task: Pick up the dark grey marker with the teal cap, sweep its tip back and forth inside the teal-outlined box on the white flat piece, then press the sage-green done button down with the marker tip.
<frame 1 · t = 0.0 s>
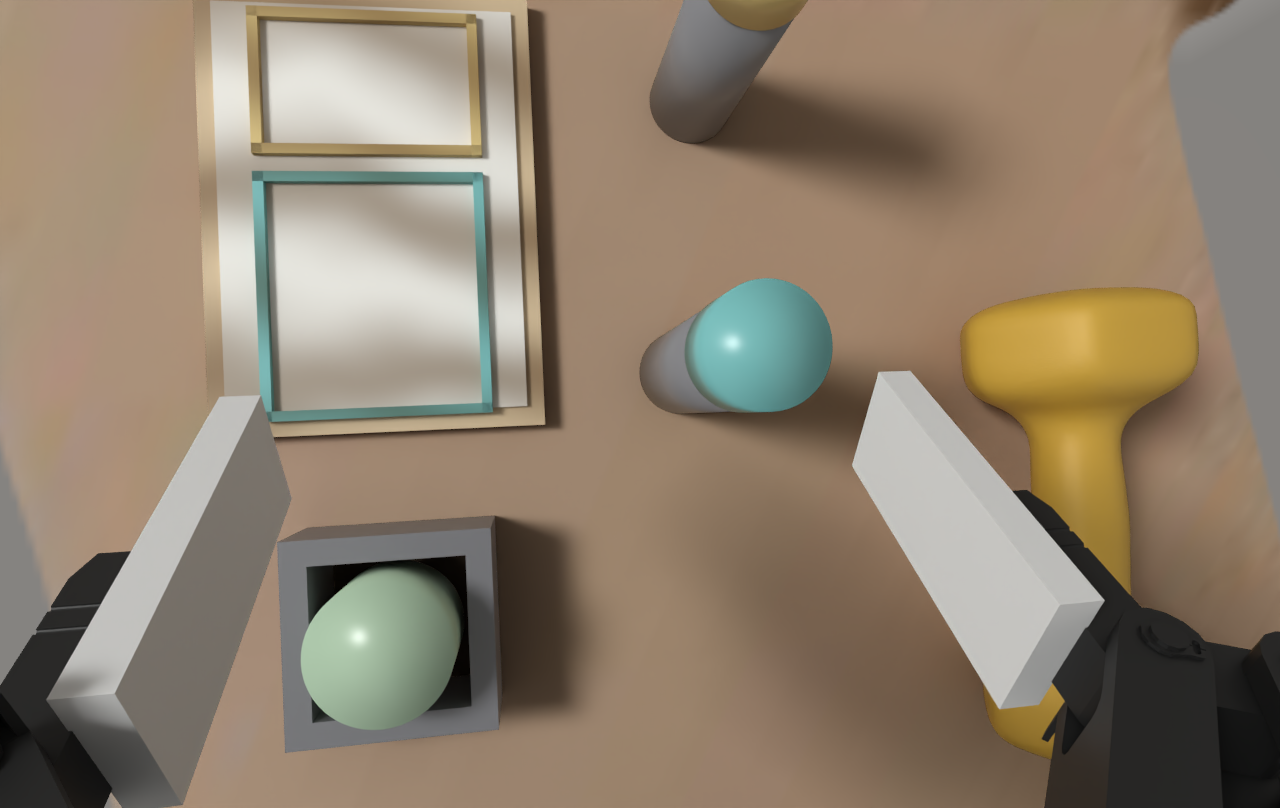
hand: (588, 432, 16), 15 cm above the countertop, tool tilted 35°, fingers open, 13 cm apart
ochre marker: (689, 103, 32), on the countertop
button housing: (406, 612, 30), on the countertop
dumbbell: (1012, 507, 35), on the countertop
done button: (389, 638, 26), point 4 cm above the countertop, slide at 0.0 cm
teal marker: (679, 372, 32), on the countertop
white flat piece: (377, 215, 30), on the countertop
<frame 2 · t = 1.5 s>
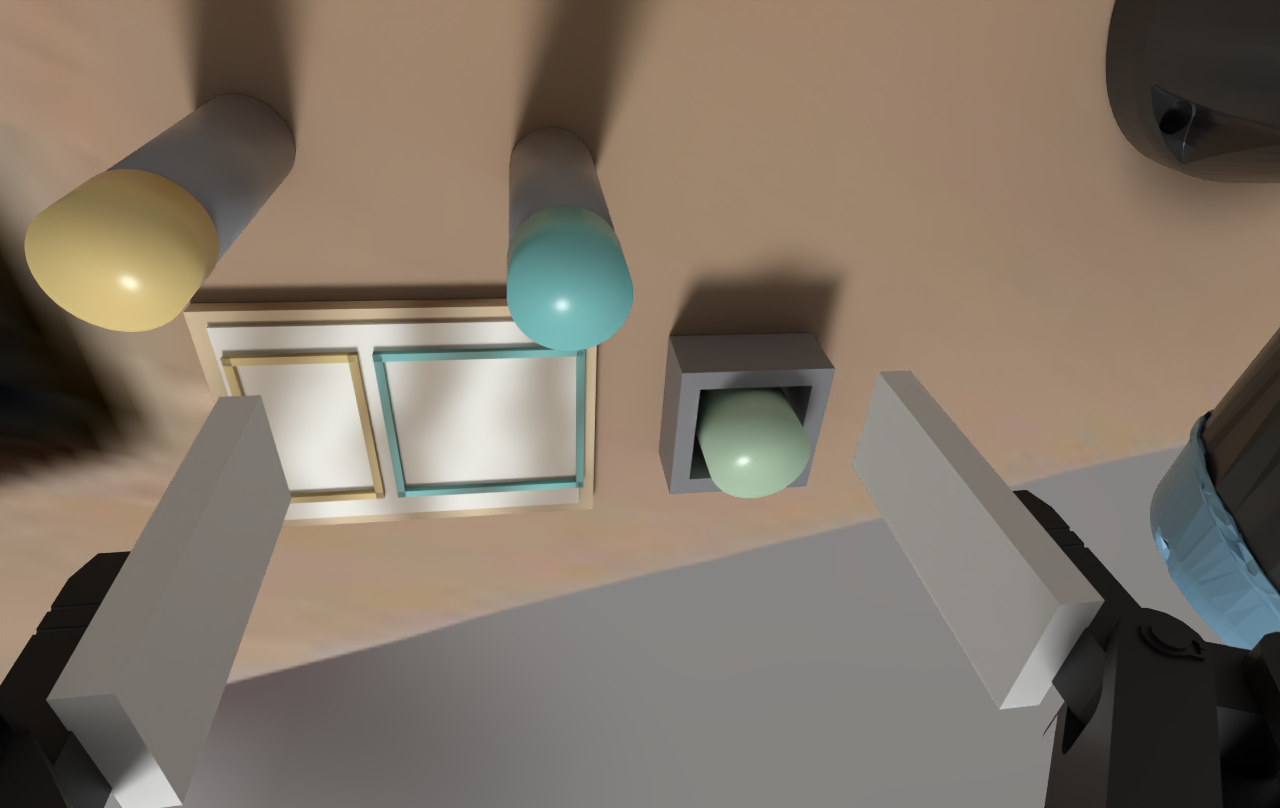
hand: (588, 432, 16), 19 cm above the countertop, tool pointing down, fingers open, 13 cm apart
ochre marker: (246, 142, 29), on the countertop
button housing: (731, 395, 39), on the countertop
done button: (749, 435, 36), point 4 cm above the countertop, slide at 0.0 cm
teal marker: (552, 170, 31), on the countertop
white flat piece: (418, 414, 37), on the countertop
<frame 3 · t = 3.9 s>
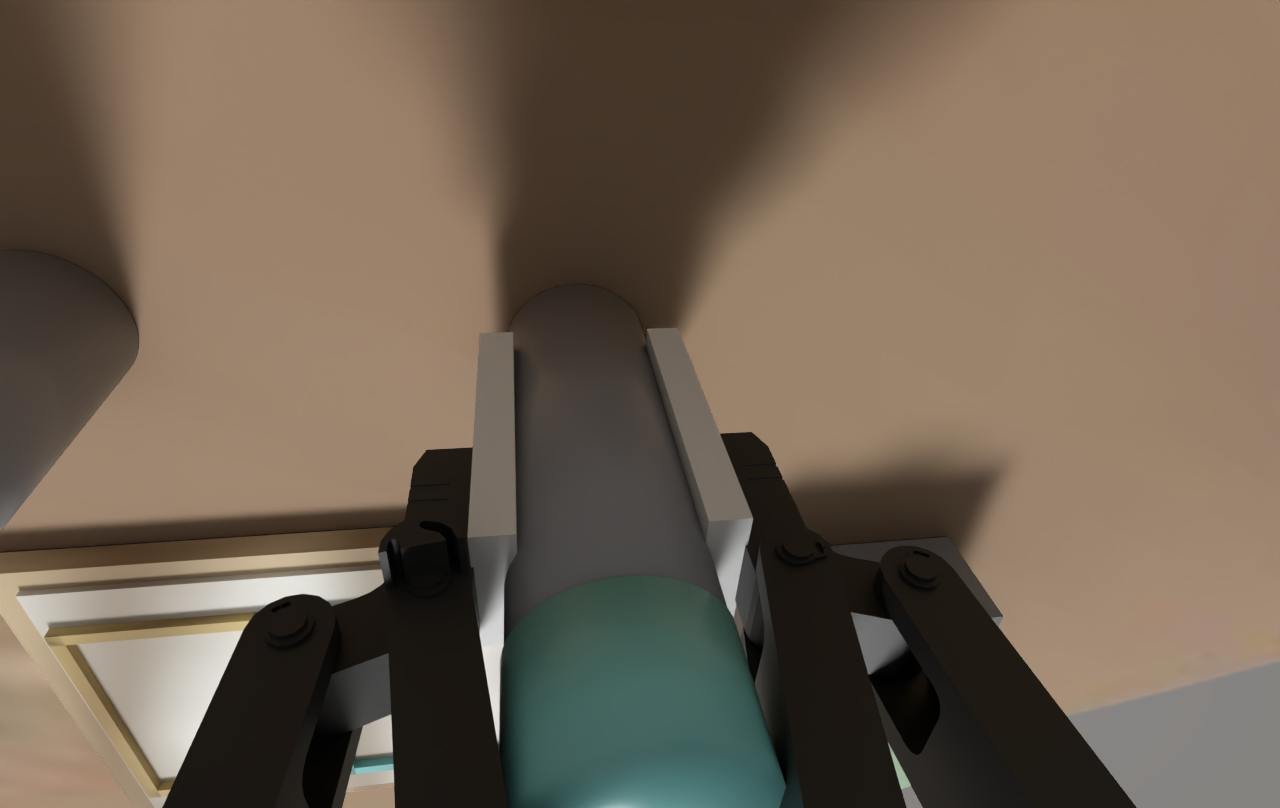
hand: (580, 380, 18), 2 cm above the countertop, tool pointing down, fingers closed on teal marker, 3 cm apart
ochre marker: (48, 324, 16), on the countertop
button housing: (827, 615, 27), on the countertop
done button: (865, 701, 24), point 4 cm above the countertop, slide at 0.0 cm
teal marker: (575, 347, 19), on the countertop, touching gripper
white flat piece: (371, 666, 25), on the countertop
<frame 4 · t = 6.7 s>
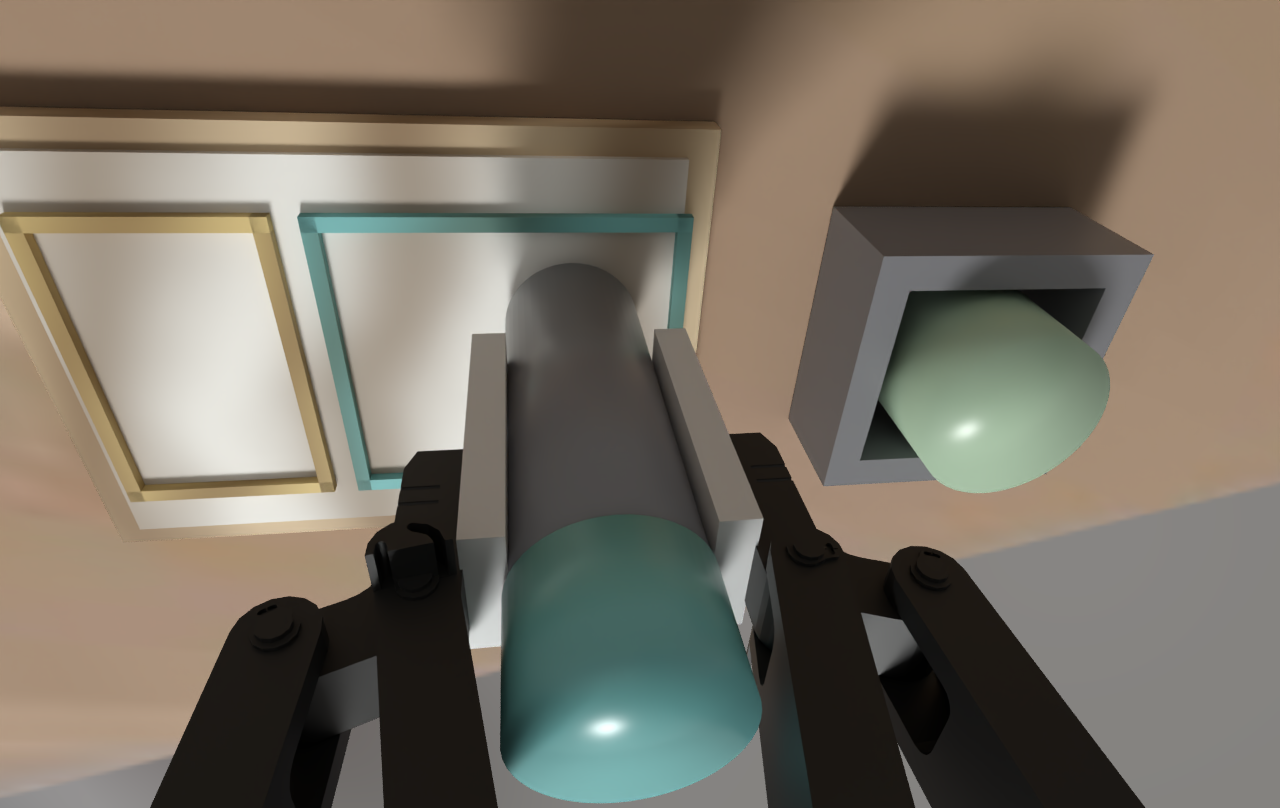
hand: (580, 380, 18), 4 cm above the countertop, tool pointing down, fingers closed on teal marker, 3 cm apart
button housing: (919, 320, 23), on the countertop
done button: (977, 381, 20), point 4 cm above the countertop, slide at 0.0 cm
teal marker: (571, 323, 20), point 2 cm above the countertop, touching gripper
white flat piece: (390, 346, 21), on the countertop
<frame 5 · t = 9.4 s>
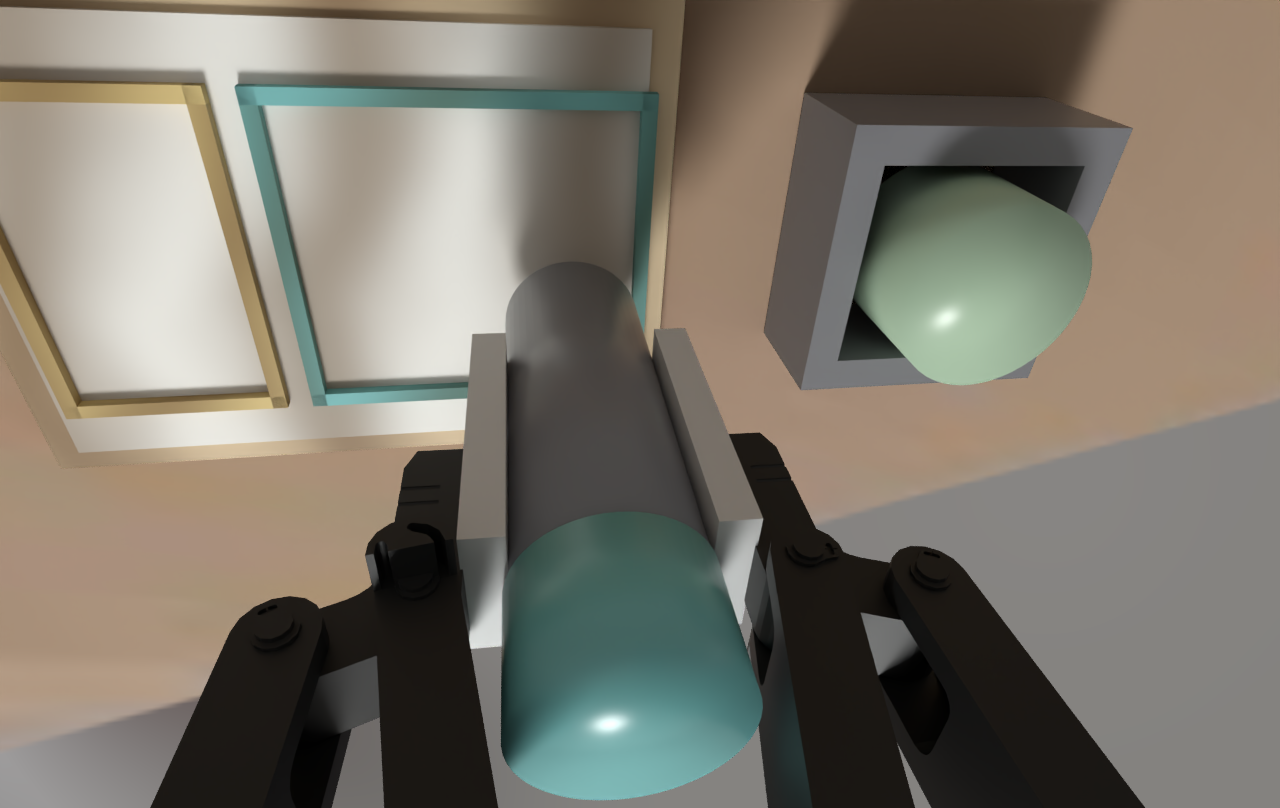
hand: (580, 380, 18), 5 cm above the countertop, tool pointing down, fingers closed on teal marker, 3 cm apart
button housing: (895, 222, 23), on the countertop
done button: (956, 270, 20), point 4 cm above the countertop, slide at 0.0 cm
teal marker: (572, 322, 20), point 2 cm above the countertop, touching gripper
white flat piece: (343, 247, 20), on the countertop
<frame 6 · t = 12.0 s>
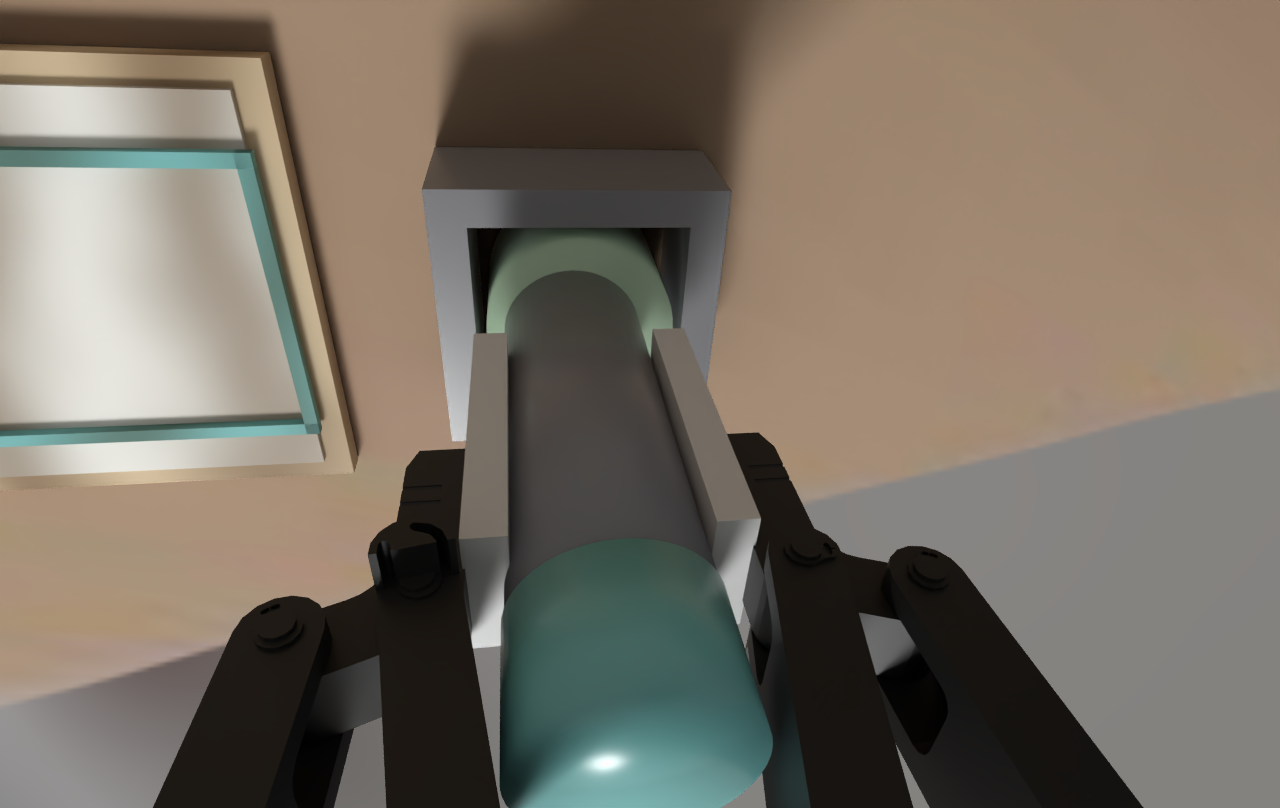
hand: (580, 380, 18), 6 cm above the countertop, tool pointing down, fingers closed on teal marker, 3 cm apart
button housing: (572, 271, 22), on the countertop
done button: (576, 299, 21), point 2 cm above the countertop, slide at 1.7 cm, touching teal marker
teal marker: (572, 332, 19), point 4 cm above the countertop, touching done button, gripper
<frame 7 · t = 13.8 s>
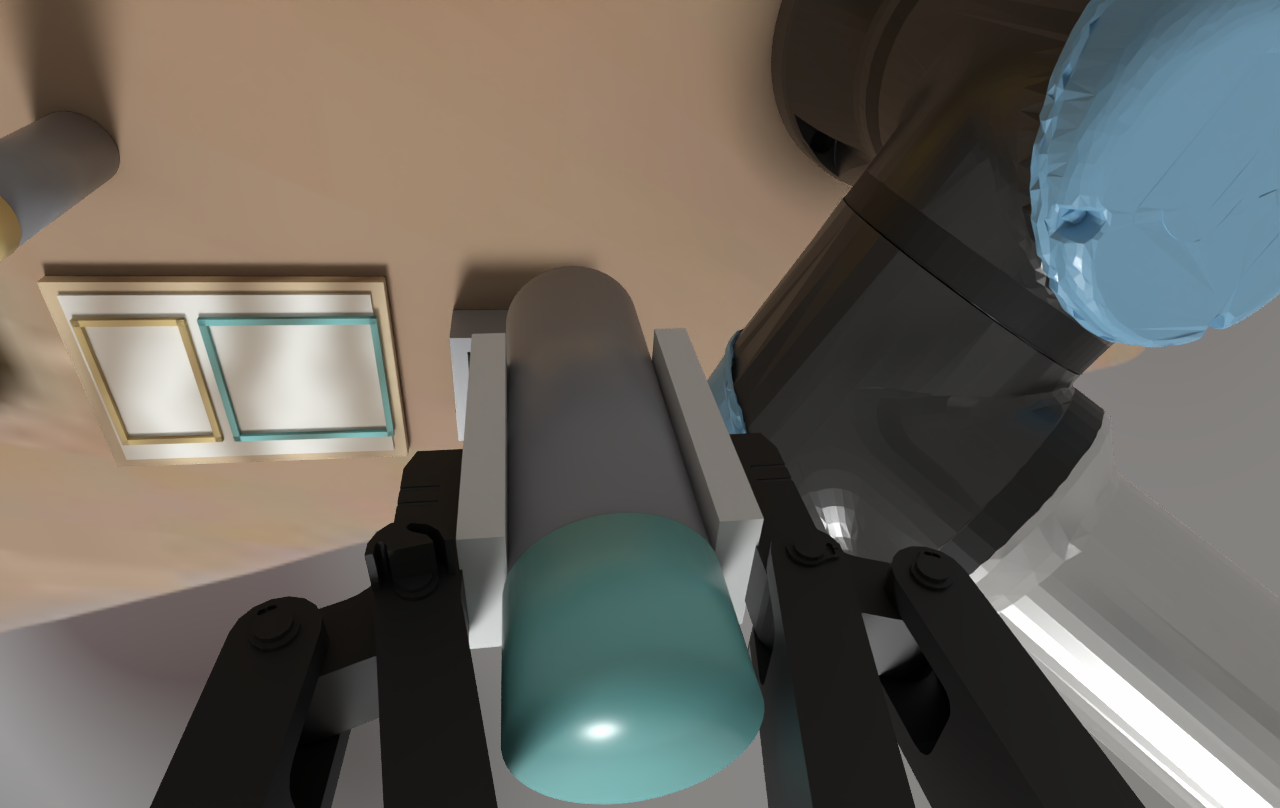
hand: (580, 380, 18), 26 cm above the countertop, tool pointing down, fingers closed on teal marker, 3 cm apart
ochre marker: (78, 148, 36), on the countertop
button housing: (515, 360, 47), on the countertop
teal marker: (572, 327, 20), point 24 cm above the countertop, touching gripper
white flat piece: (247, 372, 45), on the countertop
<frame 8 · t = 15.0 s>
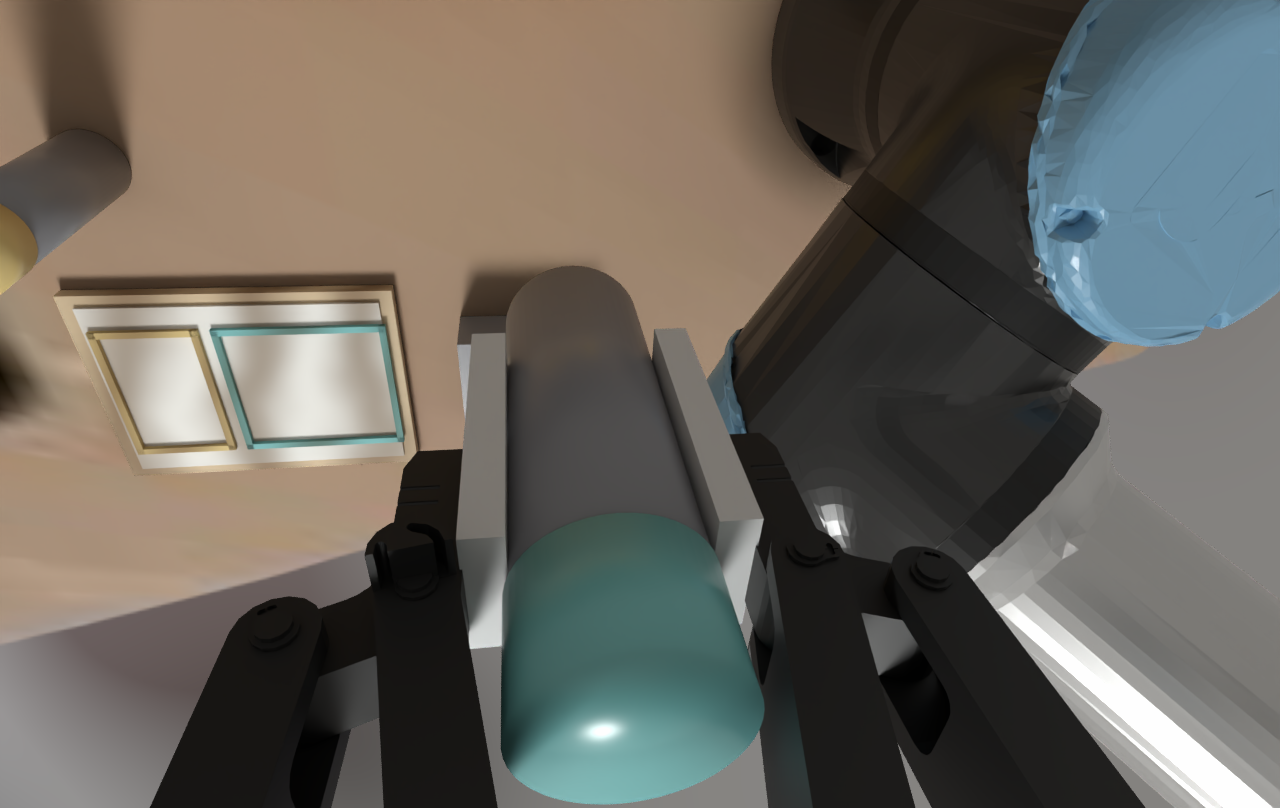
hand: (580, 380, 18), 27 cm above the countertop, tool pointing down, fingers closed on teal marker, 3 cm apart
ochre marker: (91, 165, 37), on the countertop
button housing: (523, 365, 48), on the countertop
teal marker: (572, 327, 20), point 24 cm above the countertop, touching gripper
white flat piece: (259, 381, 46), on the countertop
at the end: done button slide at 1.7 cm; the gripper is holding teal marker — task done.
